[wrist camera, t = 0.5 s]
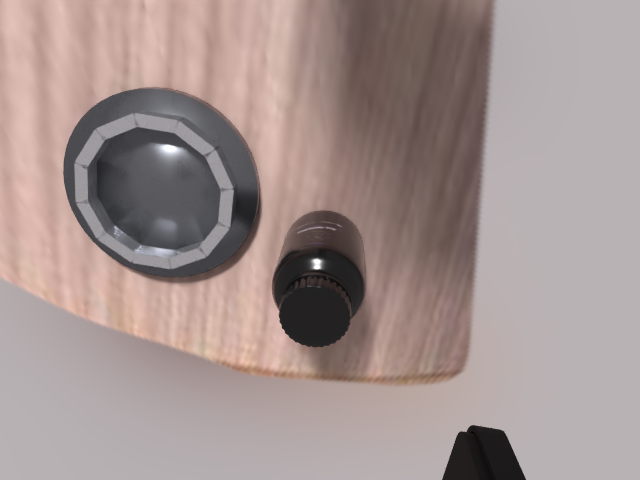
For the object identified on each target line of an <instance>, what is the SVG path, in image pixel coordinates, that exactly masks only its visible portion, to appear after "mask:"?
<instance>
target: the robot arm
mask: <svg viewBox="0 0 640 480" xmlns="http://www.w3.org/2000/svg"><path fill="white" fill-rule="evenodd" d="M442 480H526V479H525V476H524V474H523V472H522V470H521V467H520V465H519V463H518V461H517V458H516V456H515V454H514V452H513V449H512V447H511V445H510V443H509V440H508V438H507V436H506V434H505V433H504V431H502V430H499V429H493V428H486V427H481V426H475V425H472V426H470V427H469V428H468V430H467V432H459V433H458V435H457V437H456V440H455V443H454V446H453V449H452V452H451V455H450V458H449V461H448V464H447V467H446V470H445V473H444V476H443V479H442Z"/></svg>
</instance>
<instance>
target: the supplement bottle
mask: <svg viewBox="0 0 640 480" xmlns="http://www.w3.org/2000/svg"><path fill="white" fill-rule="evenodd" d="M272 295H273V299H274V302H275V304H276V306H277V308H278V310H279V311H280V312H279V318H280V323H281V324H282V328H283V329H284V330H285V333H286V334H287V335H289V337H290V338H291V339H293V340H294V341H295V342H298V343H300V344H301V345H306V346H308V347H310V346H312V347H323V346H329V345H330V344H332V343H335V342H336V341H337V340H340V339H341V337H342V336H344V335H345V332H346V331H347V330H348V326H349V325H350V323H351V319H353V318H354V316H355V315H356V314H357V313H358V311H359V310H360V308H361V306H362V304H363V301H364V297H365V269H364V250H363V242H362V238H361V235H360V233H359V231H358V229H357V227H356V226H355V225H354V224H353V223H352V222H351V221H350V220H349V219H348V218H346V217H345V216H343V215H341V214H339V213H336V212H332V211H315V212H311V213H308V214H306V215H304V216H302V217H301V218H299V219H298V220H297V221H296V222H295V223H294V224H293V225H292V226H291V228H290V229H289V231H288V233H287V236H286V238H285V241H284V244H283V247H282V250H281V254H280V257H279V260H278V263H277V266H276V269H275V272H274V276H273V280H272Z"/></svg>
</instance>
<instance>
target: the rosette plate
mask: <svg viewBox="0 0 640 480" xmlns="http://www.w3.org/2000/svg"><path fill="white" fill-rule="evenodd" d="M63 174H64V183H65V189H66V193H67V197H68V200H69V203H70V206H71V208H72V211H73V213H74V215H75V217H76V218H77V220H78V222H79V224H80V225H81V227H82V228H83V229H84V231H85V232H86V234H87V235H88V236H89V237H90V238H91V239H92V241H93V242H94V243H95V244H96V245H98V246H99V247H100V248H101V249H102V250H103V251H104V252H106V253H107V254H108V255H109V256H111V257H112V258H114V259H115V260H117V261H119V262H120V263H122V264H124V265H126V266H128V267H130V268H132V269H134V270H137V271H140V272H143V273H146V274H151V275H155V276H163V277H185V276H192V275H196V274H200V273H203V272H206V271H208V270H210V269H213V268H215V267H217V266H218V265H220V264H222V263H223V262H225V261H226V260H227V259H228V258H230V257H231V256H232V255H233V254H234V253H235V252H236V251H237V250H238V249H239V248H240V246H241V245H242V243H243V242H244V241H245V239H246V238H247V236H248V234H249V232H250V230H251V228H252V226H253V223H254V220H255V218H256V215H257V211H258V205H259V196H260V186H259V177H258V172H257V168H256V164H255V161H254V158H253V156H252V153H251V151H250V149H249V147H248V145H247V143H246V141H245V140H244V138H243V137H242V135H241V134H240V133H239V131H238V130H237V129H236V127H235V126H234V125H233V124H232V123H231V122H230V121H229V120H228V119H227V118H226V117H225V116H224V115H223V114H222V113H221V112H219V111H218V110H217V109H215V108H214V107H212V106H211V105H210V104H208V103H206V102H205V101H203V100H201V99H199V98H197V97H195V96H192V95H190V94H187V93H184V92H181V91H177V90H173V89H168V88H158V87H150V88H139V89H133V90H128V91H124V92H121V93H118V94H115V95H112V96H110V97H108V98H106V99H105V100H103V101H101V102H99V103H98V104H97V105H95V106H94V107H92V108H91V109H90V110H89V111H88V112H87V113H86V114H85V115H84V116H83V117H82V118H81V120H80V121H79V122H78V124H77V125H76V127H75V128H74V130H73V132H72V134H71V136H70V138H69V141H68V144H67V148H66V152H65V157H64V173H63Z"/></svg>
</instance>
